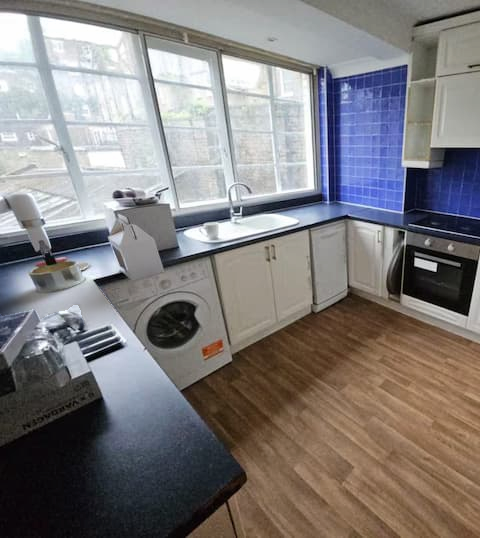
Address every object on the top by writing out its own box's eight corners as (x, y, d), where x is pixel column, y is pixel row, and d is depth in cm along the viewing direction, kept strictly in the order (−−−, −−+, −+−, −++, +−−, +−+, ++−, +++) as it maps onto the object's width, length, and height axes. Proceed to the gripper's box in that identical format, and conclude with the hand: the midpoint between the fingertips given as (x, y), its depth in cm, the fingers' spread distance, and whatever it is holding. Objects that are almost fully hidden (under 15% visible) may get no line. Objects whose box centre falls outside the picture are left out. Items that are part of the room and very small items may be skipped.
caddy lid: (35, 278, 141) (29, 265, 138) (65, 265, 156) (60, 253, 154) (71, 276, 142) (66, 263, 139) (97, 263, 157) (93, 252, 154)
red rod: (35, 267, 125) (33, 263, 125) (36, 267, 127) (34, 263, 126) (67, 260, 132) (65, 256, 132) (67, 261, 134) (65, 256, 133)
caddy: (27, 293, 126) (17, 275, 123) (58, 278, 141) (51, 261, 137) (64, 291, 127) (56, 273, 124) (92, 276, 141) (85, 259, 138)
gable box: (120, 270, 147) (99, 215, 136) (150, 262, 157) (132, 210, 146) (132, 281, 134) (110, 221, 123) (164, 272, 143) (146, 215, 132)
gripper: (18, 222, 125) (38, 262, 132) (20, 228, 115) (41, 271, 122) (43, 218, 130) (61, 257, 137) (46, 224, 120) (65, 265, 127)
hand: (51, 263), depth 130 cm, fingers closed on red rod, 2 cm apart
